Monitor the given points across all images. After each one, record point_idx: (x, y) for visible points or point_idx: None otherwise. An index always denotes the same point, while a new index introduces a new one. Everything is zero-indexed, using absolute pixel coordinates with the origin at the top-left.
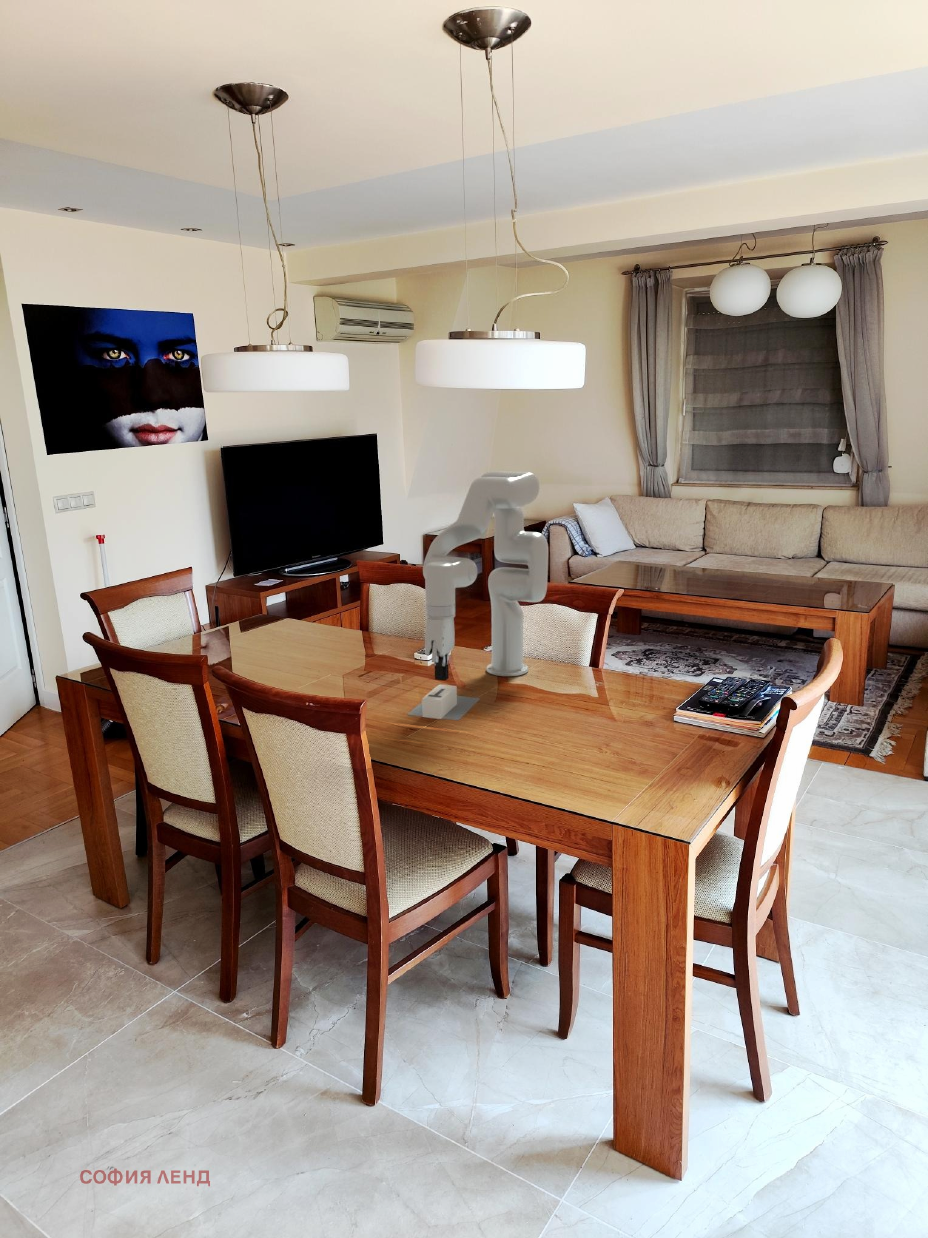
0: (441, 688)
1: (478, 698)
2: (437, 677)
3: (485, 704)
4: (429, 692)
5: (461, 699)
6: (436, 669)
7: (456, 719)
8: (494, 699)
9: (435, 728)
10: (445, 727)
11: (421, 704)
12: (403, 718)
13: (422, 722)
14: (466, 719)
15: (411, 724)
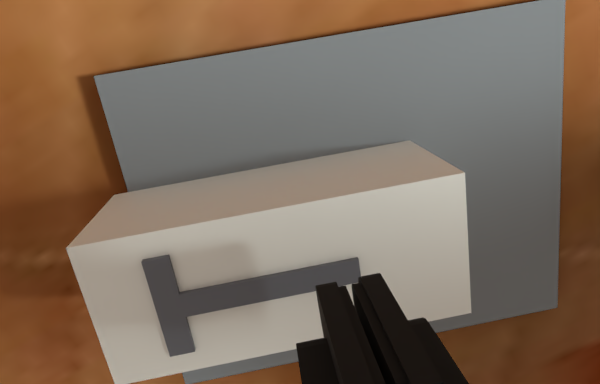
0: (374, 246)
1: (549, 300)
2: (322, 321)
3: (505, 341)
4: (232, 219)
5: (504, 231)
6: (338, 376)
7: (189, 372)
8: (591, 340)
9: (51, 317)
10: (98, 350)
11: (320, 55)
12: (72, 60)
13: (86, 208)
14: (260, 374)
15: (15, 169)
